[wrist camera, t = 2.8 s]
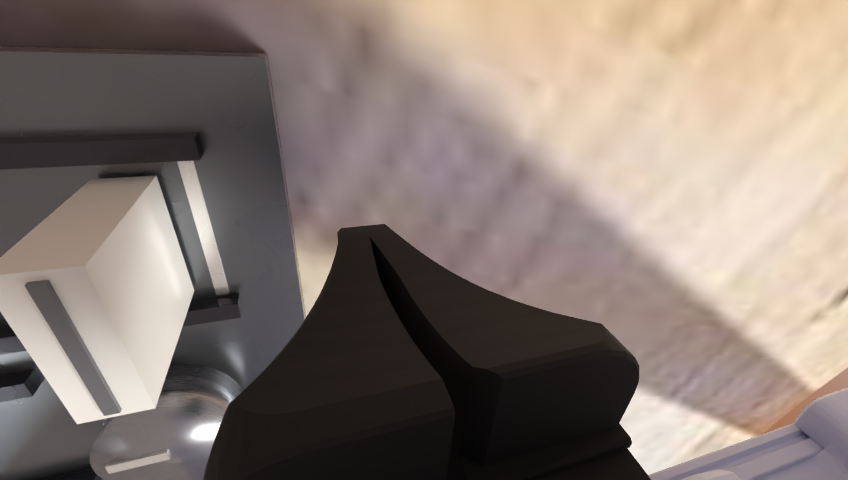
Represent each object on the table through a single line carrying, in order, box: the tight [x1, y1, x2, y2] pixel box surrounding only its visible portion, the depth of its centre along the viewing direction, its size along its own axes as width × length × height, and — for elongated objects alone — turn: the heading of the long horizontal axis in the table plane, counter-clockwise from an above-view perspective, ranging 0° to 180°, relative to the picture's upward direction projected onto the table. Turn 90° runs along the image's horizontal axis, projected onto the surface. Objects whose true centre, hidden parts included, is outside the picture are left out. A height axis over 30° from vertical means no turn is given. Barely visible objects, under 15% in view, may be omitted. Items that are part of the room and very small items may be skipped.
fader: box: [0, 176, 194, 424], centre depth 9 cm, size 4×2×5 cm, turn 177°
